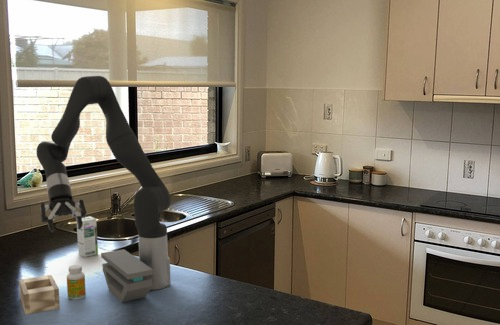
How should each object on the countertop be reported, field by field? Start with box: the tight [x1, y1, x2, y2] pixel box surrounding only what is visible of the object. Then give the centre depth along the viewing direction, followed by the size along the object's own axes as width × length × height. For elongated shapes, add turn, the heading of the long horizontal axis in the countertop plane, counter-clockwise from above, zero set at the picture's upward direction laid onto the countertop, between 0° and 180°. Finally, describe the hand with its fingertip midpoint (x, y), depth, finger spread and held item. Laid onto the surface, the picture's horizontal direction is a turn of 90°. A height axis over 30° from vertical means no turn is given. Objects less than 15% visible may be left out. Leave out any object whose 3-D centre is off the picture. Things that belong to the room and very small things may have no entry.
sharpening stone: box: [100, 248, 153, 303], centre depth 175 cm, size 25×8×11 cm, turn 33°
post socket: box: [18, 274, 61, 315], centre depth 168 cm, size 10×14×6 cm
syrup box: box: [75, 215, 99, 258], centre depth 216 cm, size 6×6×14 cm
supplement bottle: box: [66, 264, 87, 300], centre depth 173 cm, size 5×5×10 cm
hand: (66, 229), depth 182 cm, fingers open, 8 cm apart
